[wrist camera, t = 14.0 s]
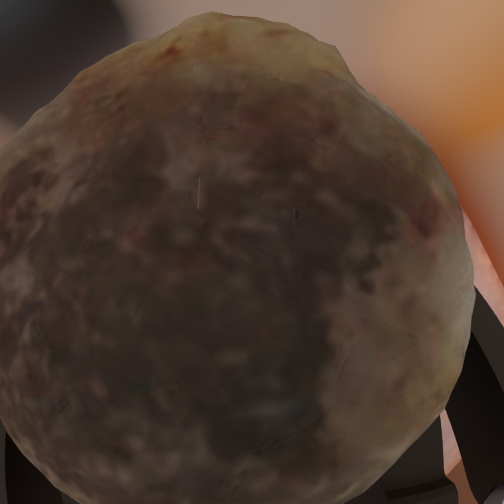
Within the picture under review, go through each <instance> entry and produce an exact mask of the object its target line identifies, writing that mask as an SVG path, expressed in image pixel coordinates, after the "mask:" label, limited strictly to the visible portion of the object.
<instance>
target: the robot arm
mask: <svg viewBox="0 0 504 504" xmlns="http://www.w3.org/2000/svg"><path fill="white" fill-rule="evenodd" d="M474 288H475V294H476V298H475V303H474V308H473V313H472V318H471V332H470V339H469V342H468V345H467V349H466V352H465V357H464V362H463V367H462V371H461V373H460V375H459V378H458V380H457V382H456V384H455V386H454V388H453V390H452V392H451V395H450V397H449V400H448V402H447V404H446V407H445V410H446V412H447V415H448V418H449V420H450V423H451V426H452V429H453V432H454V435H455V438H456V441H457V444H458V448H459V451H460V454H461V458H462V461H463V465H464V468H465V472H466V476H467V479H468V483H469V486H470V488H471V491H472V493H473V495H474V498H475V499H476V500H477V502H478V504H504V327H503V326H502V324H501V322H500V321H499V319H498V318H497V316H496V315H495V313H494V312H493V310H492V309H491V308H490V306H489V305H488V303H487V302H486V300H485V299H484V298H483V296H482V295H481V294H480V292H479V291H478V289H477V288H476V287H475V286H474ZM0 504H80V503H78V502H77V501H75V500H74V499H73V498H71V497H70V496H68V495H67V494H65V493H64V492H62V491H61V490H59V489H57V488H56V487H54V486H53V484H52V483H51V482H50V481H49V480H48V479H47V478H46V477H45V476H44V474H43V473H42V472H41V471H40V470H39V469H37V468H36V467H35V466H34V465H33V464H32V463H31V462H30V461H29V460H28V459H27V458H26V457H25V456H24V455H23V454H22V452H21V451H20V450H19V448H18V447H17V446H16V444H15V443H14V441H13V440H12V438H11V437H10V436H9V434H8V433H7V431H6V429H5V427H4V425H3V423H2V420H1V418H0ZM344 504H458V491H457V489H456V486H455V484H454V483H453V482H452V481H450V480H449V479H448V478H447V477H446V475H445V473H444V460H443V441H442V429H441V420H440V415H439V416H438V417H437V418H436V419H435V420H434V421H433V423H432V424H431V425H430V426H429V427H428V428H427V429H426V430H425V431H424V432H423V433H422V435H421V436H420V437H419V438H418V439H417V440H416V441H415V442H414V443H413V444H412V445H411V446H410V447H409V448H408V449H407V450H406V451H405V452H404V453H403V455H402V456H401V457H400V458H399V459H398V460H397V461H396V462H395V463H394V464H393V465H392V466H391V467H390V468H389V469H388V470H387V471H386V472H385V473H384V474H383V475H382V476H381V477H380V478H379V479H378V480H377V481H376V482H375V483H374V484H373V485H372V486H370V487H369V488H368V489H367V490H366V491H365V492H364V493H362V494H360V495H359V496H357V497H355V498H353V499H351V500H349V501H347V502H345V503H344Z"/></svg>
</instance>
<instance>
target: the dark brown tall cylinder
mask: <svg viewBox="0 0 504 504" xmlns="http://www.w3.org/2000/svg"><path fill="white" fill-rule="evenodd" d="M473 282H474V271H473V263H472V259H471V256H470V252H469V249H468V246H467V242H466V239H465V230H464V220H463V215H462V211H461V207H460V203H459V199H458V196H457V192H456V190H455V188H454V185H453V183H452V181H451V179H450V178H449V176H448V174H447V172H446V171H445V169H444V167H443V166H442V164H441V162H440V161H439V159H438V158H437V156H436V154H435V153H434V152H433V150H432V148H431V147H430V146H429V144H428V143H427V141H426V140H425V138H424V137H423V136H422V134H421V133H420V132H419V131H417V130H416V129H415V128H413V127H412V126H411V125H410V124H408V123H407V122H406V121H404V120H403V119H402V118H400V117H399V116H398V115H397V114H396V113H395V112H394V111H393V110H392V109H390V108H389V107H387V106H386V105H384V104H383V103H382V102H381V101H380V100H379V99H378V98H376V96H374V95H372V94H370V93H369V92H367V91H366V90H365V89H363V87H362V86H361V85H359V84H358V82H357V81H356V79H355V78H354V76H353V75H352V73H351V72H350V70H349V69H348V67H347V65H346V63H345V61H344V60H343V58H342V56H341V54H340V53H339V51H338V50H337V48H336V47H335V46H334V45H330V44H327V43H324V42H321V41H318V40H317V39H315V38H314V37H313V36H312V35H310V34H309V33H306V32H303V31H300V30H298V29H297V28H295V27H293V26H291V25H289V24H287V23H280V22H272V21H268V20H265V19H261V18H257V17H244V16H231V15H226V14H222V13H217V12H209V13H205V14H201V15H197V16H194V17H190V18H187V19H185V20H184V21H183V22H182V23H180V24H179V25H178V26H176V27H174V28H172V29H171V30H169V31H167V32H165V33H163V34H162V35H159V36H157V37H155V38H151V39H146V40H141V41H138V42H135V43H133V44H131V45H129V46H127V47H125V48H123V49H121V50H119V51H117V52H115V53H113V54H110V55H108V56H106V57H105V58H104V59H102V60H100V61H99V62H97V63H96V64H94V65H92V66H90V67H88V68H87V69H85V70H83V71H81V72H80V73H79V74H78V75H77V76H76V77H75V78H74V79H73V80H72V81H71V82H70V84H69V85H68V86H67V87H66V88H65V89H64V90H63V92H61V93H60V94H59V95H58V96H57V97H56V98H55V99H54V100H53V101H52V102H50V103H49V104H47V105H46V106H44V107H42V108H41V109H39V110H38V111H36V112H35V114H34V115H33V116H32V117H31V118H30V119H29V121H28V122H27V123H26V124H25V125H24V126H23V127H22V128H21V129H20V130H19V131H18V132H17V133H16V134H15V135H14V136H13V138H12V139H10V140H9V141H8V142H7V143H5V144H4V145H3V147H2V148H1V149H0V418H1V420H2V423H3V425H4V427H5V429H6V431H7V433H8V434H9V436H10V437H11V438H12V440H13V441H14V443H15V444H16V446H17V447H18V448H19V450H20V451H21V452H22V454H23V455H24V456H25V457H26V458H27V459H28V460H29V461H30V462H31V463H32V464H33V465H34V466H35V467H36V468H37V469H39V470H40V471H41V472H42V473H43V474H44V476H45V477H46V478H47V479H48V480H49V481H50V482H51V483H52V484H53V486H54V487H56V488H57V489H59V490H61V491H62V492H64V493H65V494H67V495H68V496H70V497H71V498H73V499H74V500H75V501H77V502H78V503H80V504H343V503H345V502H347V501H349V500H351V499H353V498H355V497H357V496H359V495H360V494H362V493H364V492H365V491H366V490H367V489H368V488H369V487H370V486H372V485H373V484H374V483H375V482H376V481H377V480H378V479H379V478H380V477H381V476H382V475H383V474H384V473H385V472H386V471H387V470H388V469H389V468H390V467H391V466H392V465H393V464H394V463H395V462H396V461H397V460H398V459H399V458H400V457H401V456H402V455H403V453H404V452H405V451H406V450H407V449H408V448H409V447H410V446H411V445H412V444H413V443H414V442H415V441H416V440H417V439H418V438H419V437H420V436H421V435H422V433H423V432H424V431H425V430H426V429H427V428H428V427H429V426H430V425H431V424H432V423H433V421H434V420H435V419H436V418H437V417H438V416H439V415H440V414H441V413H442V411H443V410H444V409H445V407H446V404H447V402H448V400H449V397H450V395H451V392H452V390H453V388H454V386H455V384H456V382H457V380H458V378H459V375H460V373H461V371H462V367H463V362H464V357H465V352H466V349H467V345H468V342H469V339H470V332H471V318H472V313H473V308H474V303H475V298H476V294H475V288H474V284H473Z"/></svg>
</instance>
